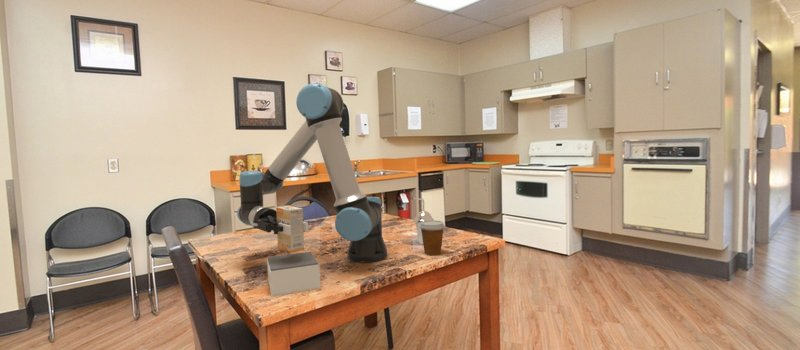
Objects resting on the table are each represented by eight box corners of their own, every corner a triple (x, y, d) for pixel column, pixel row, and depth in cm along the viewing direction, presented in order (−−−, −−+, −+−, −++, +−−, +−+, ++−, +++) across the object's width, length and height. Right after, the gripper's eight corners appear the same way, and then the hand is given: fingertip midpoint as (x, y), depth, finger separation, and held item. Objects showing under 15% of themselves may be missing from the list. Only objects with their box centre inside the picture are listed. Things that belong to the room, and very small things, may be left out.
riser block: (312, 274, 129) (311, 251, 128) (320, 288, 116) (319, 262, 115) (268, 281, 124) (266, 257, 123) (271, 297, 111) (269, 269, 110)
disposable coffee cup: (438, 258, 143) (437, 226, 142) (415, 254, 148) (415, 223, 147) (449, 251, 151) (448, 221, 150) (427, 248, 156) (426, 219, 155)
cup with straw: (434, 245, 160) (434, 197, 159) (413, 246, 160) (412, 198, 159) (433, 240, 169) (432, 195, 167) (412, 240, 169) (411, 195, 167)
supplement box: (277, 248, 120) (275, 206, 119) (290, 245, 124) (289, 204, 123) (290, 253, 114) (289, 209, 113) (305, 250, 118) (303, 207, 117)
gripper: (289, 225, 138) (324, 236, 121) (238, 233, 126) (270, 247, 109) (288, 204, 137) (324, 212, 120) (237, 211, 125) (269, 221, 108)
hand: (298, 228), depth 115 cm, fingers closed on supplement box, 5 cm apart
